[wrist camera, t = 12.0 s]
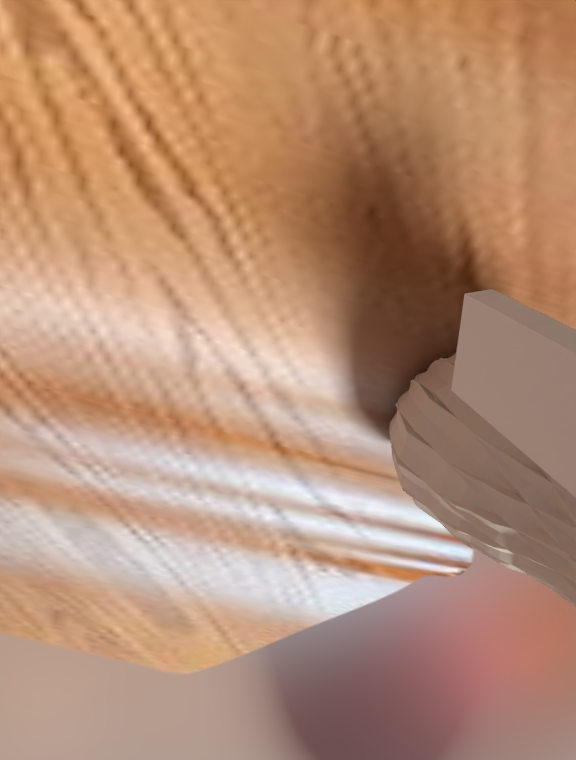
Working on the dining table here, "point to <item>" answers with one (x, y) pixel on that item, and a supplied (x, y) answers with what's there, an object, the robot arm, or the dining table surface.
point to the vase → (482, 483)
